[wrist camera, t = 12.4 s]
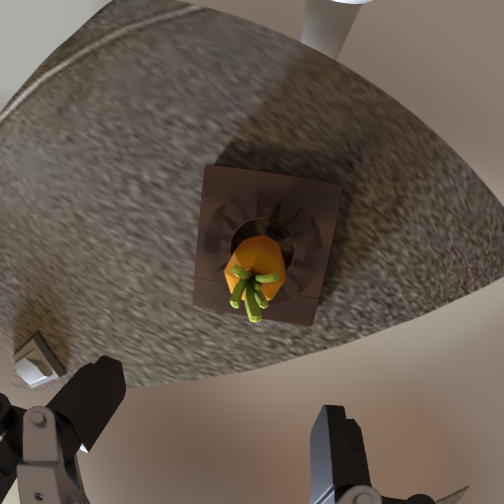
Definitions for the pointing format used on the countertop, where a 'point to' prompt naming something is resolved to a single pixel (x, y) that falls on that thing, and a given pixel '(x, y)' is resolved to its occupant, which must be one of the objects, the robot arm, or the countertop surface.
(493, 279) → the countertop surface
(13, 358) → the soap mold
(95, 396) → the robot arm
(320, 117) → the countertop surface
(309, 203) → the socket board
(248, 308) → the carrot
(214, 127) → the countertop surface
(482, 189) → the countertop surface
